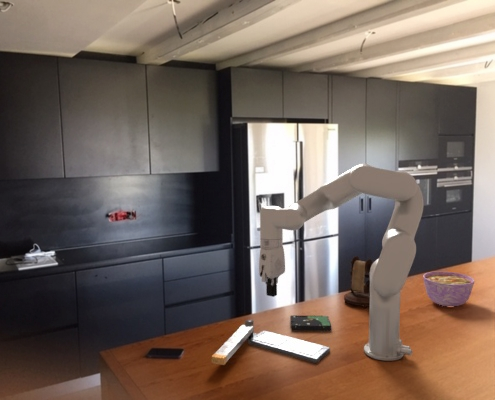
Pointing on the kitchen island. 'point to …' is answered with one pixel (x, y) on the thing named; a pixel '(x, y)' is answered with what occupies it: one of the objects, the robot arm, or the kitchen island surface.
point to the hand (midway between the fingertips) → (271, 295)
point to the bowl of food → (448, 287)
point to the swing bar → (233, 343)
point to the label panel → (289, 346)
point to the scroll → (359, 283)
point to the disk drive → (310, 323)
